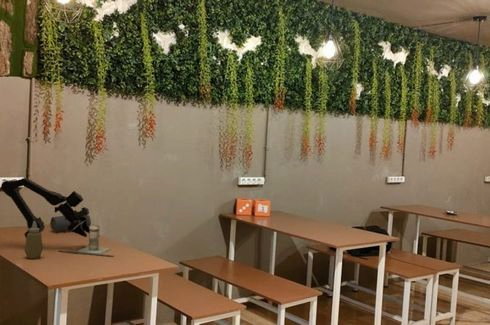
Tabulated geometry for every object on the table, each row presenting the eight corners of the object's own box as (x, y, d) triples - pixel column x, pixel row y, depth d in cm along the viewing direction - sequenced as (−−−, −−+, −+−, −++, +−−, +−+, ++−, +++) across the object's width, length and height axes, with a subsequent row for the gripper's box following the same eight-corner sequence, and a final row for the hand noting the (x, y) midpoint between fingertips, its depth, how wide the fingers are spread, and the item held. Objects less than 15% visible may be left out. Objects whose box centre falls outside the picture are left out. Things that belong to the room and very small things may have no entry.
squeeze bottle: (25, 260, 250) (26, 222, 249) (23, 256, 257) (24, 220, 256) (43, 259, 253) (44, 222, 252) (41, 255, 260) (42, 219, 260)
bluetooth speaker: (84, 228, 336) (84, 213, 336) (90, 230, 329) (91, 215, 329) (49, 231, 321) (50, 215, 320) (55, 233, 314) (56, 217, 314)
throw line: (58, 251, 270) (58, 251, 270) (60, 250, 272) (60, 250, 272) (112, 257, 265) (112, 256, 265) (114, 256, 267) (114, 255, 267)
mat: (99, 254, 269) (99, 253, 269) (76, 251, 271) (76, 251, 271) (110, 249, 282) (110, 248, 282) (88, 247, 284) (88, 246, 284)
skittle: (94, 251, 273) (95, 226, 273) (86, 250, 275) (87, 225, 275) (100, 249, 278) (101, 225, 277) (93, 248, 280) (94, 224, 279)
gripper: (75, 205, 266) (96, 228, 267) (84, 200, 284) (104, 221, 285) (58, 219, 266) (79, 242, 267) (69, 214, 284) (88, 235, 285)
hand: (88, 234), depth 276 cm, fingers open, 9 cm apart
